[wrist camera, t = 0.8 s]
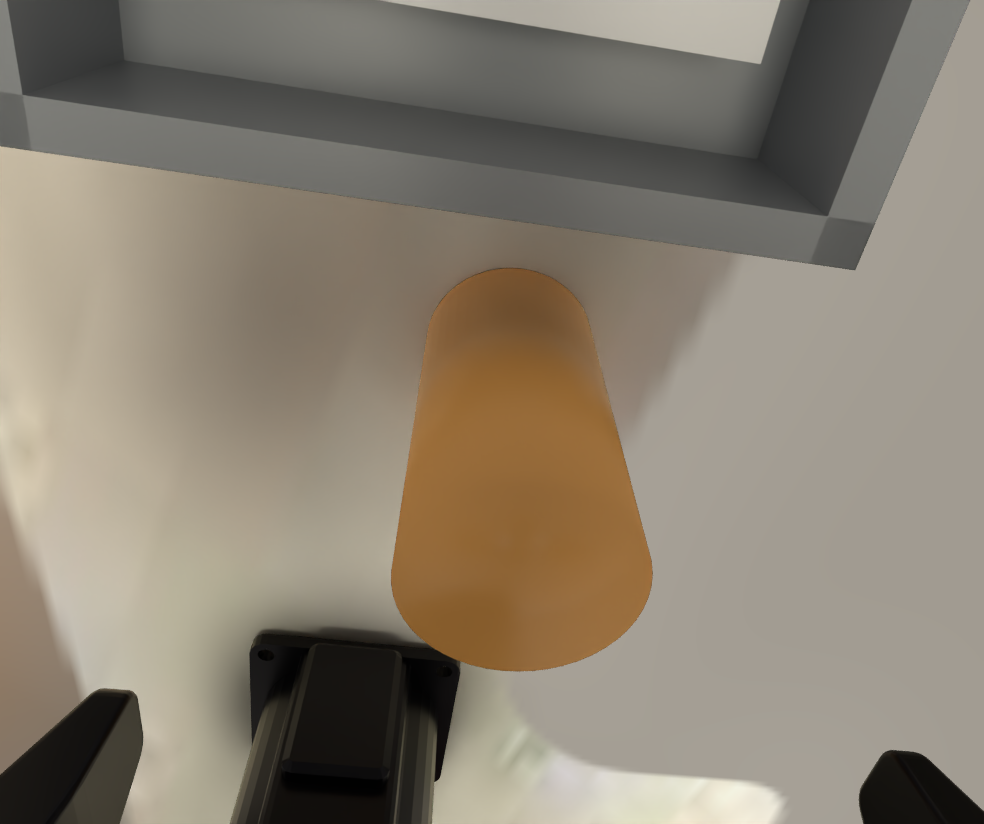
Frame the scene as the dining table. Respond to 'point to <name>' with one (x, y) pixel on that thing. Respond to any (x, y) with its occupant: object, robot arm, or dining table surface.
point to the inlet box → (504, 105)
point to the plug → (516, 485)
